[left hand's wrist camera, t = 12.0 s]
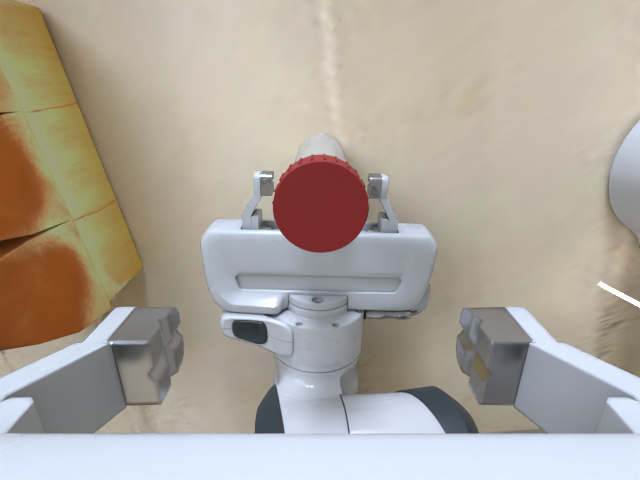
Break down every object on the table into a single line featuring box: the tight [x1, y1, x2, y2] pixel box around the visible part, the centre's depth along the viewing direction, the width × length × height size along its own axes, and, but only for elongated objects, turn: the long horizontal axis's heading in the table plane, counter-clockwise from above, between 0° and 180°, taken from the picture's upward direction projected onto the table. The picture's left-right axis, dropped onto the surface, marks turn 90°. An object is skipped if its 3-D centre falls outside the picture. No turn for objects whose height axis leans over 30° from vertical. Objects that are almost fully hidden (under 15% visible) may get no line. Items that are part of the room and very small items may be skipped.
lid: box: [272, 153, 369, 253], centre depth 21 cm, size 5×5×2 cm
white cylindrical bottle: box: [293, 133, 347, 164], centre depth 28 cm, size 4×4×16 cm
